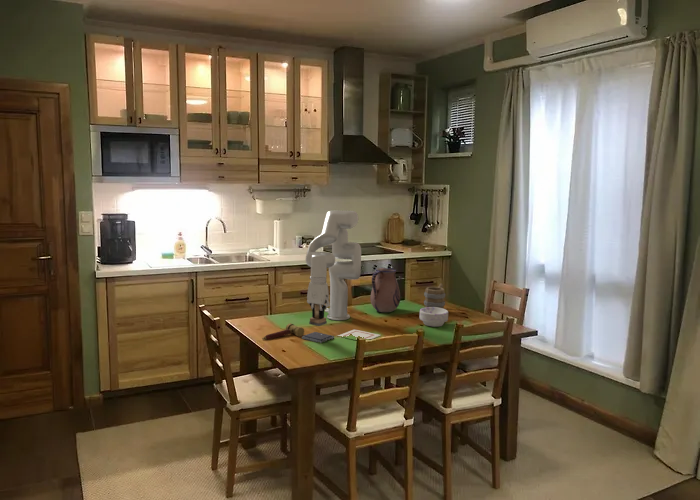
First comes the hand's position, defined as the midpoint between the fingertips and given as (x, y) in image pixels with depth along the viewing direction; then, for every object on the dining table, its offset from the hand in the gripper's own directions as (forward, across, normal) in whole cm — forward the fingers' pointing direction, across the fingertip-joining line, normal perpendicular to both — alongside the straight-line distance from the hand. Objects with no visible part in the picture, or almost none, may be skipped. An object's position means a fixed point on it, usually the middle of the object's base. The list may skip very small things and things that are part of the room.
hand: (318, 317), depth 273 cm
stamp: (+3, 0, 0) cm, 3 cm away
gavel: (+11, -17, -8) cm, 22 cm away
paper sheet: (+11, +13, +16) cm, 23 cm away
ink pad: (+11, 0, 0) cm, 11 cm away
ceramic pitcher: (+10, -4, +66) cm, 67 cm away
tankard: (+10, +19, +88) cm, 91 cm away
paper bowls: (+11, +32, +59) cm, 68 cm away
